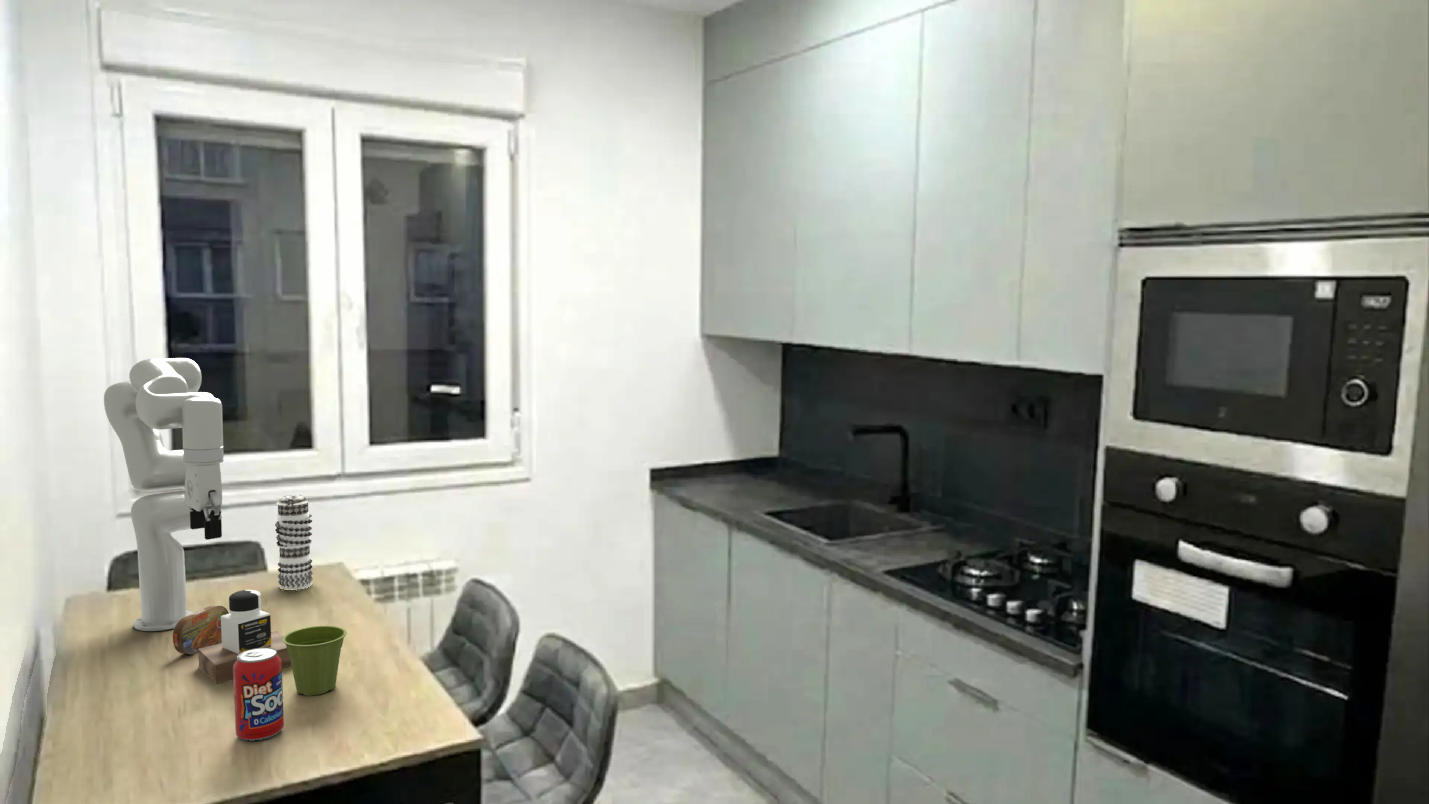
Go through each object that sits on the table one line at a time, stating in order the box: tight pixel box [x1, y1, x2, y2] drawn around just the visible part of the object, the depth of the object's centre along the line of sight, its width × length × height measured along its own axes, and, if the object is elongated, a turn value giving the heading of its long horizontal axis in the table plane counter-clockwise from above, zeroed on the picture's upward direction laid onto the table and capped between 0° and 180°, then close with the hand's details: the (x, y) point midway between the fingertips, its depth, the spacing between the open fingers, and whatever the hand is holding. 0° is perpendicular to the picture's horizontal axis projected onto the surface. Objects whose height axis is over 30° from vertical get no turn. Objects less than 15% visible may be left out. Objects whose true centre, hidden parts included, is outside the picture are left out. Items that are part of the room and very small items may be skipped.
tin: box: [172, 605, 230, 656], centre depth 207 cm, size 15×3×8 cm, turn 168°
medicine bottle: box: [221, 589, 272, 654], centre depth 197 cm, size 7×7×12 cm
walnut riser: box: [197, 630, 292, 685], centre depth 198 cm, size 12×16×4 cm
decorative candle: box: [274, 494, 314, 591], centre depth 252 cm, size 9×9×25 cm
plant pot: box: [282, 625, 348, 697], centre depth 186 cm, size 12×12×11 cm
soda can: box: [232, 648, 285, 742], centre depth 166 cm, size 8×8×15 cm
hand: (205, 533), depth 199 cm, fingers open, 9 cm apart
